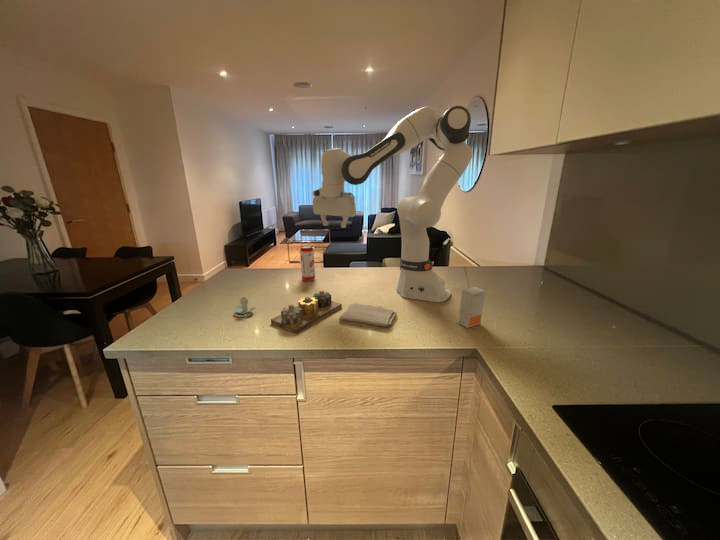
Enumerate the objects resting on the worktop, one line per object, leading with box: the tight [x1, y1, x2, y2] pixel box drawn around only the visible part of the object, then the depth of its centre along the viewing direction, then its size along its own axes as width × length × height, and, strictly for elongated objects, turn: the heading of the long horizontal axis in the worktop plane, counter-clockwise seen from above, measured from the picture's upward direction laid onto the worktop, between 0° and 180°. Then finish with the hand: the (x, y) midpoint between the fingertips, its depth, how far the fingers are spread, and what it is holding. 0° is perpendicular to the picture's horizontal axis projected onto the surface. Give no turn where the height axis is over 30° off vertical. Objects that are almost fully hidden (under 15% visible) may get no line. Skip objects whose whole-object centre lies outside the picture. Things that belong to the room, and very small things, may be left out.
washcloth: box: [338, 303, 397, 331], centre depth 99 cm, size 12×18×3 cm, turn 72°
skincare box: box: [457, 286, 486, 329], centre depth 94 cm, size 6×4×12 cm
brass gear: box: [297, 296, 318, 316], centre depth 102 cm, size 7×7×4 cm
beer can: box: [299, 245, 316, 282], centre depth 137 cm, size 6×6×16 cm
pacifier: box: [233, 296, 256, 318], centre depth 103 cm, size 7×6×6 cm
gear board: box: [270, 290, 343, 335], centre depth 102 cm, size 12×23×6 cm, turn 146°
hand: (334, 226), depth 120 cm, fingers open, 8 cm apart
